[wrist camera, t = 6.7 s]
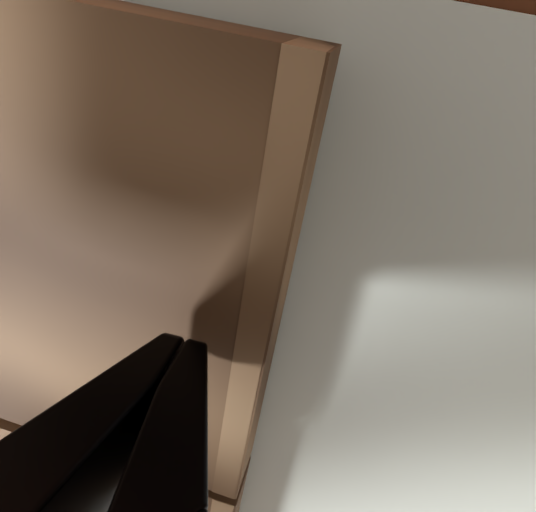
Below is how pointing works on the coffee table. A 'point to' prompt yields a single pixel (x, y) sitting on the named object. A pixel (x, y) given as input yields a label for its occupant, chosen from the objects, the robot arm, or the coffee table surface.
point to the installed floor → (407, 266)
